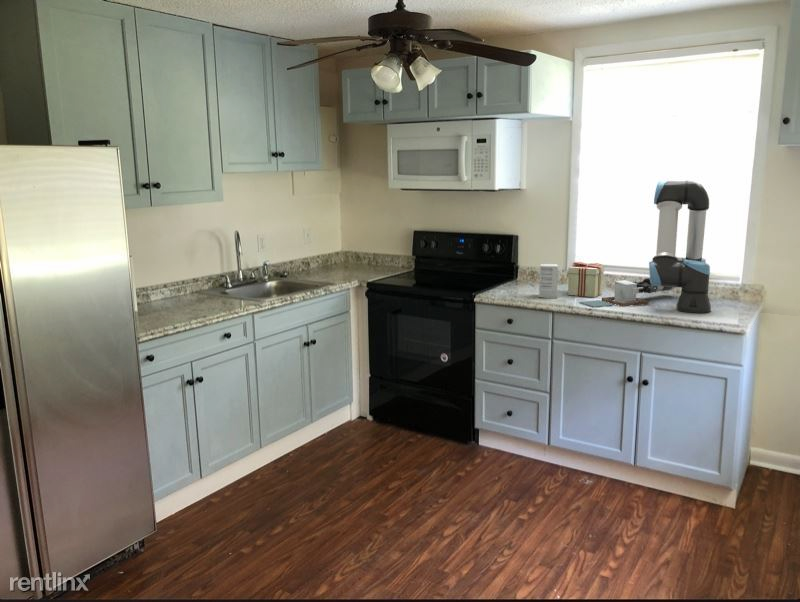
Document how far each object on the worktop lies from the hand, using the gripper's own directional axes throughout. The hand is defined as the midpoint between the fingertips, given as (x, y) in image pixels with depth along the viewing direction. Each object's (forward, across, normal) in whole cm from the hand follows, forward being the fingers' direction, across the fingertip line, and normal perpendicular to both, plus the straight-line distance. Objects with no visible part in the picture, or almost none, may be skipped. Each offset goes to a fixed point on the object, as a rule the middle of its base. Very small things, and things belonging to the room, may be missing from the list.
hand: (622, 289), depth 335 cm
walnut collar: (-2, 0, -7) cm, 7 cm away
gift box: (-1, +27, -7) cm, 28 cm away
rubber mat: (+14, +3, -7) cm, 16 cm away
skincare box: (-2, 0, -7) cm, 7 cm away
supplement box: (+20, +32, -7) cm, 38 cm away
